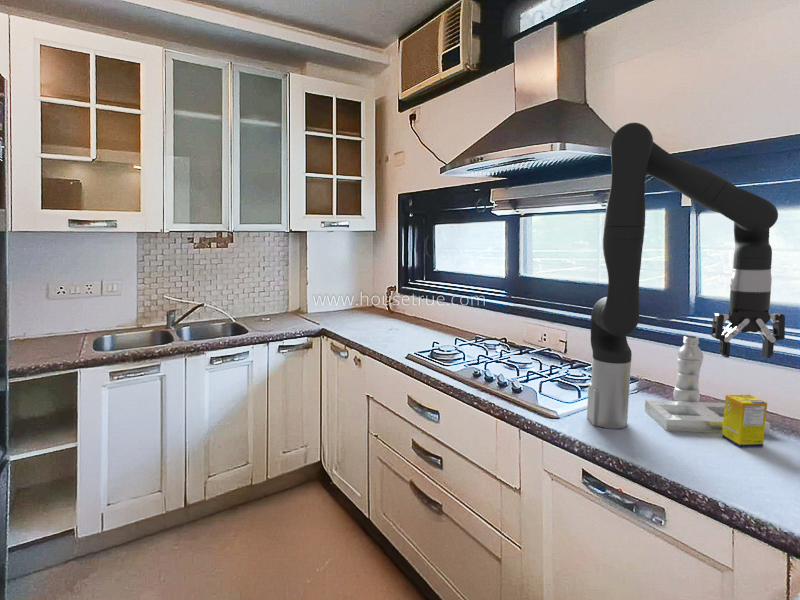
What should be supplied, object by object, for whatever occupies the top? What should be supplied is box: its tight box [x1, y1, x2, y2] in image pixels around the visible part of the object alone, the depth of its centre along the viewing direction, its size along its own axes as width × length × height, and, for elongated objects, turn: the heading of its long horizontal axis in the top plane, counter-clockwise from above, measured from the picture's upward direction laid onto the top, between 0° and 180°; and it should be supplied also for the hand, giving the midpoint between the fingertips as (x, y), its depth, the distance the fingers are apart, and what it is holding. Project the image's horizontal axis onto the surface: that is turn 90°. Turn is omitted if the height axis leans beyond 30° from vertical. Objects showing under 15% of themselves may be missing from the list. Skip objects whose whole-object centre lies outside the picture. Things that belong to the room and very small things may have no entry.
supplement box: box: [721, 394, 768, 448], centre depth 113 cm, size 6×6×11 cm
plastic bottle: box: [672, 335, 704, 402], centre depth 138 cm, size 6×7×20 cm
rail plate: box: [644, 399, 771, 436], centre depth 125 cm, size 24×14×3 cm, turn 83°
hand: (745, 357), depth 111 cm, fingers open, 8 cm apart
